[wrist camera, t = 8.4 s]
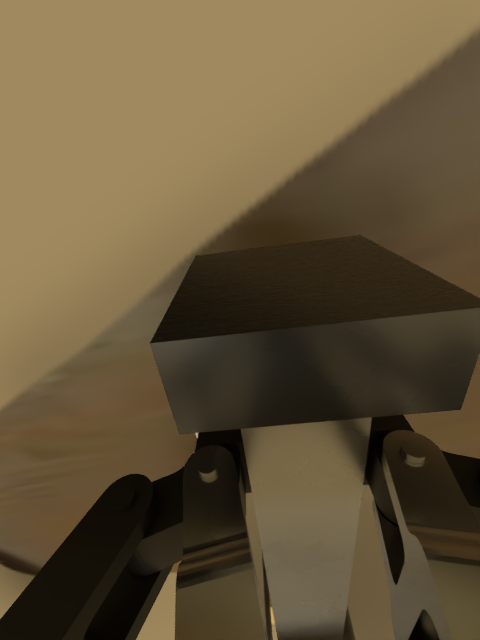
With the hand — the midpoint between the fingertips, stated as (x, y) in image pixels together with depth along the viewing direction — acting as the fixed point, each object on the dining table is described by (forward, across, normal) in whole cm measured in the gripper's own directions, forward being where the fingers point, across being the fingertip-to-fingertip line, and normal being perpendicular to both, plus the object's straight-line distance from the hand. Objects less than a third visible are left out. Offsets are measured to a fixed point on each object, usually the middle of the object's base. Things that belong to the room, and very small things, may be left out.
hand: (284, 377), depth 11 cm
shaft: (0, 0, +7) cm, 7 cm away
